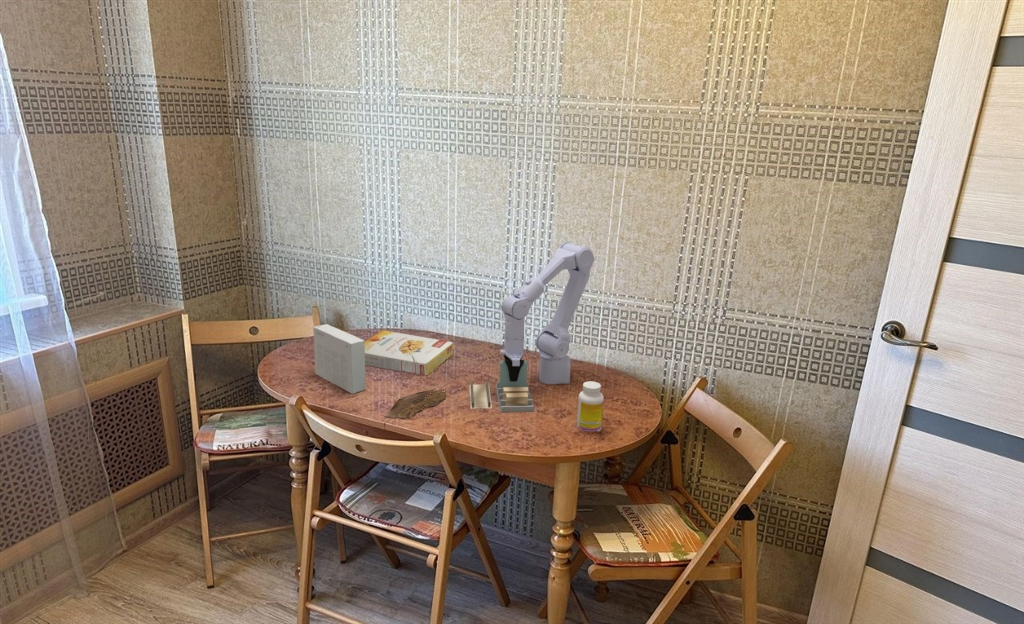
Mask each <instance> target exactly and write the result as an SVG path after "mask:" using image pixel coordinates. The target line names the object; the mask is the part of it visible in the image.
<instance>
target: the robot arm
mask: <svg viewBox="0 0 1024 624" xmlns="http://www.w3.org/2000/svg"><path fill="white" fill-rule="evenodd" d="M594 262H595V256H594V253H593V251H592V249H591V248H590V247H588V246H582V245H578V244H576V243H573V242H570V241H565V242H563V243H562V244H561V245H560V246H559V247H558V248H557V249H556V250H555V255H554V257H553V258H551V260H550V261H549V262H548V263H547V265H546V266H545V267H544V268H543V269H542V270H541V271H540V272H539V274H538V275H537V276H536V277H530V278H529V279H526V280H525V281H524V284H522V286H521V287H520V288H518V289H517V290H516V291H514V293H513V294H512V295H508V296H507V297H505V299H503V302H502V304H501V305H500V309H501V312H502V313H503V314H504V315H503V318H504V349H503V348H502V349H500V351H499V352H500V354H501V355H503V359H504V361H505V363H506V365H507V367H508V372H509V378H510V381H511V382H514V381H517V380H518V377H519V372H520V369H521V367H522V365H523V364H524V360H525V359H523V357H524V355H525V349H524V348H525V347H524V346H525V322H526V321H525V318H526V317H527V316H528V315H529V313H530V309H531V307H532V306H533V305H532V304H534V303H535V302H536V301H537V299H539V297H541V296H542V295H543V294H544V292H545V286H546V285H547V284H548V283H550V282H551V281H552V280H553V279H554V278H555V277H556V276H557V275H559V274H560V273H561V272H562V271H564V270H567V271H568V274H569V279H568V281H567V284H566V286H565V288H564V290H563V293H562V295H561V298H560V301H559V303H558V306H557V307H556V310H555V313H554V315H553V318H552V319H551V322H550V323H548V324H546V325H545V326H543V329H542V330H541V332H540V333H539V334H538V335H537V337H536V339H535V347H536V348H537V350H538V354H539V370H538V372H539V373H538V374H539V375H538V380H539V382H541V383H543V384H545V385H557V384H570V380H571V358H570V355H568V353H569V351H570V350H569V349H570V342H571V340H572V337H571V335H570V333H569V328H570V325H571V322H572V320H573V317H574V315H575V313H576V310H577V309H578V306H579V303H580V300H581V298H582V295H583V294H584V291H585V289H586V287H587V283H588V281H589V279H590V276H591V269H592V267H593V264H594Z"/></svg>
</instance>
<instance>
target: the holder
mask: <svg viewBox="0 0 1024 624" xmlns="http://www.w3.org/2000/svg"><path fill="white" fill-rule="evenodd" d="M468 388H469V406H470V409H471V410H475V409H476V410H477V409H483V410H484V409H493V405H492V399H491V392H490V391H491V390H490V384H489V381H488V380H485V384H483V383H482V384H481V383H480V384H474V382H473V380H470V384H469V386H468Z"/></svg>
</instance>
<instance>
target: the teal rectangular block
mask: <svg viewBox="0 0 1024 624" xmlns="http://www.w3.org/2000/svg"><path fill="white" fill-rule="evenodd" d="M523 360H524V364H523V365H522V367H521V369H520V372H519V377H518V380H517V381H514V382H511V381H510V378H509V372H508V367H507V365H506V363H505V360H499V382H500V384H499V388H503V387H527V383H528V361H527V360H525V359H523Z"/></svg>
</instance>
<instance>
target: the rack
mask: <svg viewBox="0 0 1024 624" xmlns="http://www.w3.org/2000/svg"><path fill="white" fill-rule="evenodd" d="M499 384H500V381H497V383H495V391H496V396H497V404H498V412H499V413H527V412H528V413H531V412H532V413H536V409H535V405H534V402H533V399H532V394H531V390H530V387H529V383H528V382H527V387H528V406H506V400H503V388H499Z"/></svg>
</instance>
